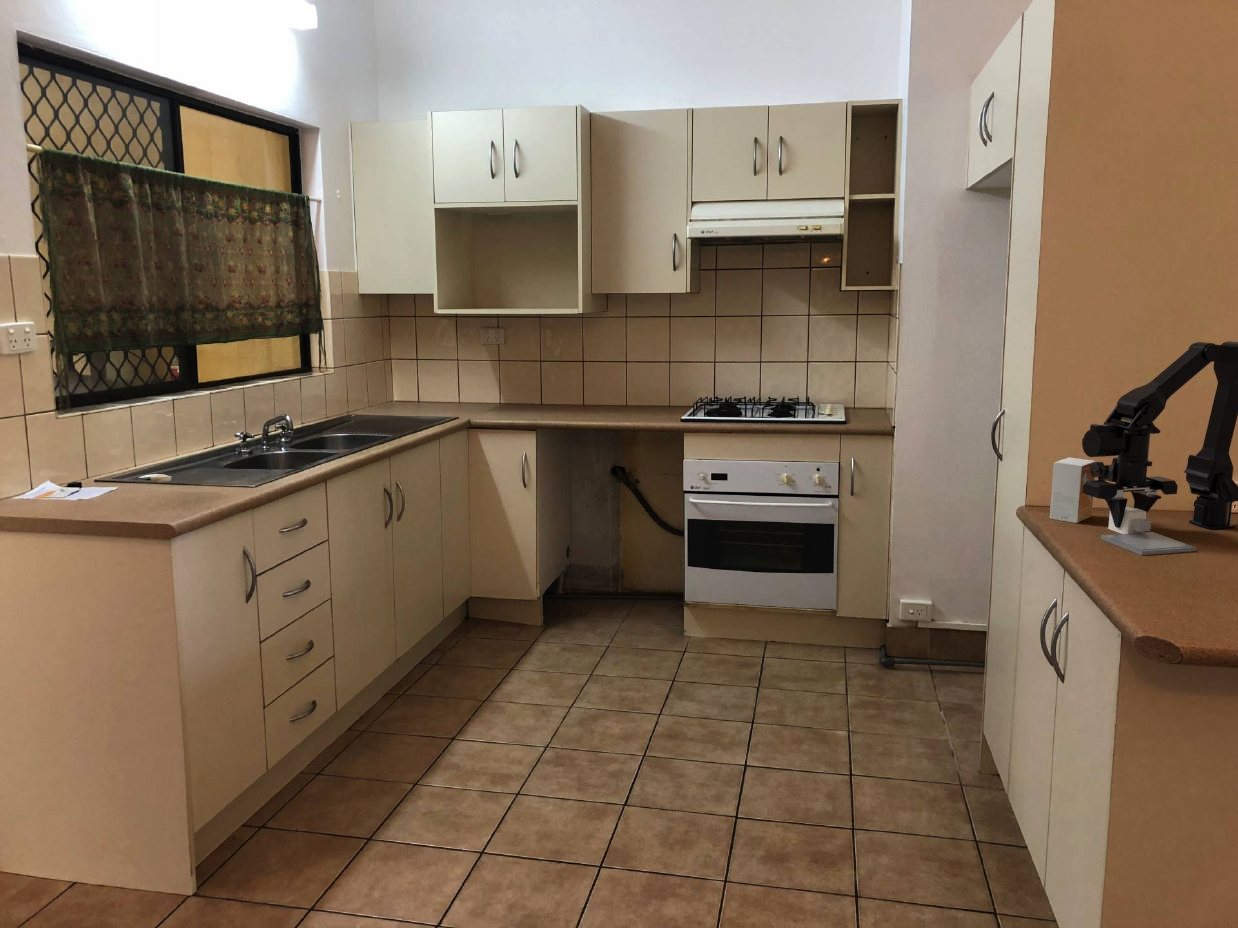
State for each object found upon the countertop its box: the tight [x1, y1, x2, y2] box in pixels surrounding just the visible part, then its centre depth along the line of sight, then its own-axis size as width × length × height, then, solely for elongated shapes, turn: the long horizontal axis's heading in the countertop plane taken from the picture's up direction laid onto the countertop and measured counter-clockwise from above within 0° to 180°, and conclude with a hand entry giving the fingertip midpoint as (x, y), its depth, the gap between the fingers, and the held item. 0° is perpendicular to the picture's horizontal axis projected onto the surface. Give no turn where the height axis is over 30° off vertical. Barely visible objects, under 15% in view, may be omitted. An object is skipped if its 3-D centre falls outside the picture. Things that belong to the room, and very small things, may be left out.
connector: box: [1107, 504, 1152, 534], centre depth 209 cm, size 4×8×5 cm, turn 11°
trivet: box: [1100, 531, 1196, 556], centre depth 200 cm, size 12×12×1 cm
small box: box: [1049, 456, 1097, 524], centre depth 221 cm, size 8×6×13 cm
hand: (1126, 526), depth 211 cm, fingers closed on connector, 4 cm apart
